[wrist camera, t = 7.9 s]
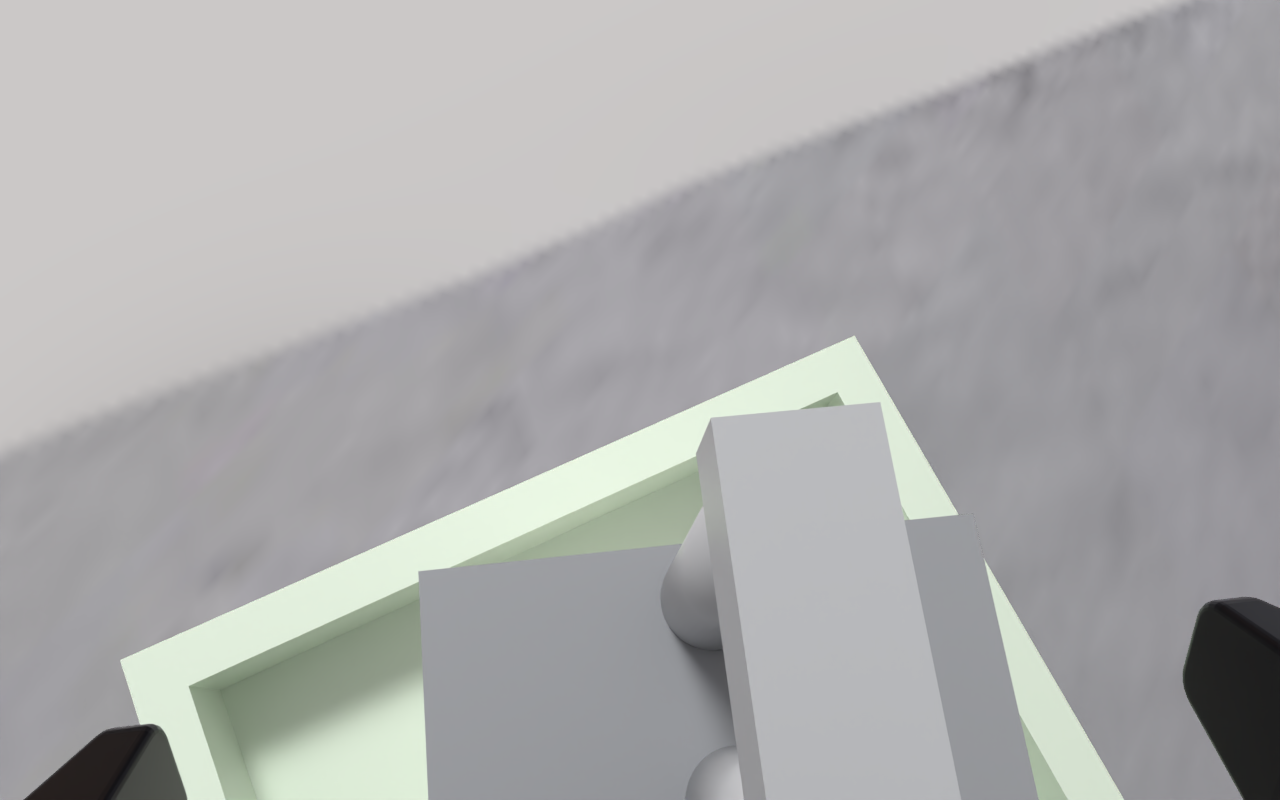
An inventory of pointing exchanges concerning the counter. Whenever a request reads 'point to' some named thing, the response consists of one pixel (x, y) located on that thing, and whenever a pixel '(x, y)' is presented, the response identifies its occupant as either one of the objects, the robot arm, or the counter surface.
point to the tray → (485, 534)
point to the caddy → (735, 645)
